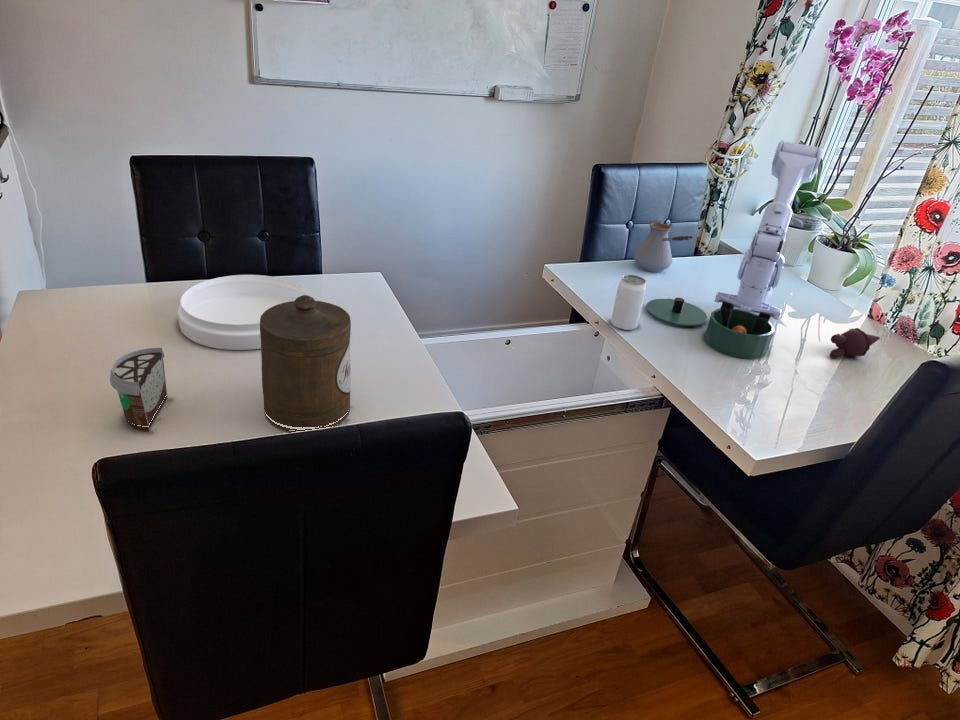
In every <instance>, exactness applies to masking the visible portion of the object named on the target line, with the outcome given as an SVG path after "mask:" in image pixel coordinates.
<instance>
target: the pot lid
mask: <svg viewBox="0 0 960 720" xmlns="http://www.w3.org/2000/svg"><path fill="white" fill-rule="evenodd" d="M645 305H646V306H645V309H646V311H647V313H648V314H649V315H651V316H652V317H653V318H655V319H656V320H659V321H661V322H663V323H665V324H670V325H673V326H679V327H688V328H689V327H691V328H693V327H699V326H702V325H704V324H706V322H707V321H708V315H707V313H706V312H705V311H704V310H703V309H702V308H700V307H698V306H696V305H694V304H692V303H690V302H687V301H685V299H684V298H682V297H675V298H674V299H673V298H656V299H652V300H649V301H648V302H647V303H646V304H645Z"/></svg>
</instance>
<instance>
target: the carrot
mask: <svg viewBox="0 0 960 720" xmlns="http://www.w3.org/2000/svg"><path fill="white" fill-rule="evenodd" d="M732 330H734V331H737V332H741V333H745V334H747V331H746V329H745V328H744V327H743V326H740V325H738V326H735V327H733V328H732Z"/></svg>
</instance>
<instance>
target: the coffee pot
mask: <svg viewBox="0 0 960 720" xmlns="http://www.w3.org/2000/svg"><path fill="white" fill-rule="evenodd" d="M649 228H650V231H649V233H648V234H647V235H646V236H645V238H644V239H643V241H642V242H641V244H640V245H639V246H638V248H637V249H636V250H635V252H634V253H633V260H634V261H635V263H636V264H637V266H638V268H640V269H642V270H644V271H646V272H652V273H661V272H664V270H666V269H669V268H670V267H671V265H672V264H673V255H672V249H671V245H670V241H675V242H677V241H678V242H679V241H681V242H682V241H687V243H688V244H690V245H694V243H695V242H696V238H694V237H693V236H691V235H681V236H680V235H679V236H674V237H669V233H670V231H672V226H670V225H669V224H666V223H662V222H650V223H649ZM692 239H693V242H691V243H690V242H689V240H692Z"/></svg>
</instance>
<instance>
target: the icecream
mask: <svg viewBox="0 0 960 720" xmlns="http://www.w3.org/2000/svg"><path fill="white" fill-rule="evenodd" d="M880 339H881V337H880V336H877V335H873V334H870V333H866V332H865V331H863V330H861V329H860V328H858V327H856V328H850V329H849V330H846V331H845V332H843V333H841V334H840V333H836V334H833V335H832V336H831V337H830V342H831V343H832V344H835V346H836V347H837V348H834V349H832V350H831V351H830V353H829V357H830V358H832V359H838V358H840V357H842V356H843V355H846V356H849V357H853V358H854V357H864V356H865V355H866V354H867V352H869V350H870V348H871V346H872V345H874V344H875V343H876V342H878V341H879V340H880Z"/></svg>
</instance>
